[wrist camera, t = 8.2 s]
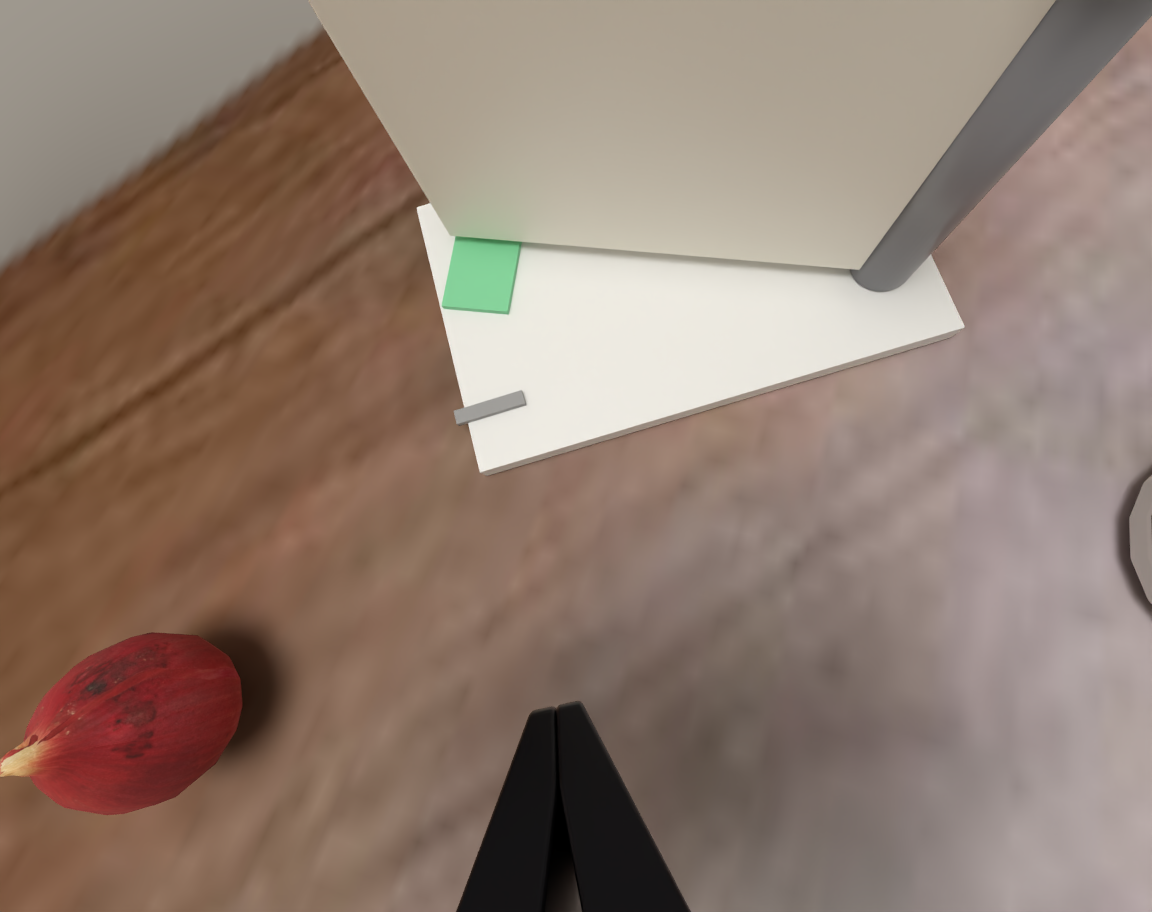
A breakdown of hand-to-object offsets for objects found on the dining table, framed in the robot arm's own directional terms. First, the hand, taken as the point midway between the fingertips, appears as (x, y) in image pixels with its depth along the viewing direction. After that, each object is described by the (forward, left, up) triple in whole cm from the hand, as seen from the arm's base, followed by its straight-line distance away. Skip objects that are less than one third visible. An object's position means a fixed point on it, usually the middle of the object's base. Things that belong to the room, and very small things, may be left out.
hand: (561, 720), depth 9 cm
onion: (+12, +12, -14) cm, 22 cm away
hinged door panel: (+6, -15, -12) cm, 20 cm away
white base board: (+7, -14, -13) cm, 21 cm away
